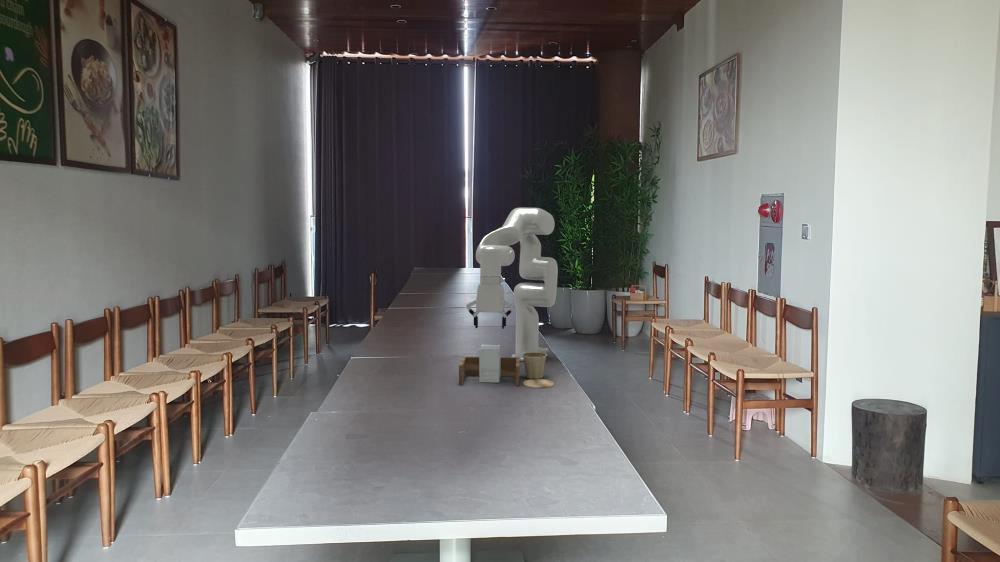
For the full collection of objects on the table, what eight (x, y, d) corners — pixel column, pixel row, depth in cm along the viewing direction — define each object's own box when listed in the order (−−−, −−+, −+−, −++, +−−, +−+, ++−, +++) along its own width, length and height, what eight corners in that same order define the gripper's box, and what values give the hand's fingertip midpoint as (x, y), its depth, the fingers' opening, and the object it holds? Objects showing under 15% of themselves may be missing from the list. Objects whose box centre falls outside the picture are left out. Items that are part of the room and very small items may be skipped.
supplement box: (501, 378, 278) (501, 344, 277) (499, 383, 271) (499, 348, 269) (481, 377, 279) (481, 344, 277) (478, 382, 271) (478, 348, 270)
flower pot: (517, 378, 278) (517, 355, 277) (528, 373, 286) (528, 351, 285) (540, 381, 274) (540, 358, 273) (550, 376, 282) (551, 353, 281)
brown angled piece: (462, 374, 283) (462, 356, 282) (519, 375, 282) (519, 357, 281) (458, 384, 267) (458, 365, 267) (518, 385, 267) (519, 366, 266)
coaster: (543, 379, 277) (543, 377, 277) (559, 386, 267) (560, 384, 267) (517, 382, 272) (517, 380, 271) (533, 389, 262) (533, 387, 262)
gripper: (514, 280, 274) (513, 326, 275) (467, 279, 275) (466, 325, 276) (514, 282, 266) (513, 330, 268) (465, 281, 267) (465, 329, 269)
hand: (489, 327), depth 272 cm, fingers open, 9 cm apart
